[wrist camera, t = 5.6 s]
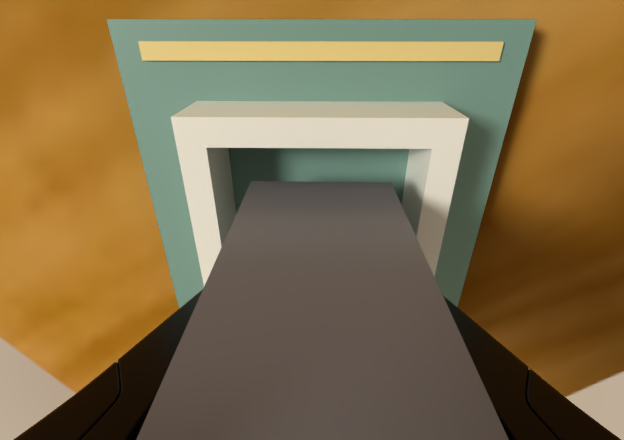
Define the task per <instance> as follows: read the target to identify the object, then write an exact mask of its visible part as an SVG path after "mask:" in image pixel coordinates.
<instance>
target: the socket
mask: <svg viewBox="0 0 624 440" xmlns="http://www.w3.org/2000/svg"><path fill="white" fill-rule="evenodd" d="M171 121H172V126H173V132H174V137H175V142H176V147H177V152H178V157H179V162H180V167H181V172H182V177H183V182H184V188H185V193H186V198H187V203H188V208H189V213H190V218H191V223H192V228H193V233H194V238H195V244H196V249H197V254H198V259H199V264H200V269H201V274H202V279H203V284H204V286H205V284H206V282H207V279H208V277H209V275H210V272H211V270H212V268H213V266H214V263H215V261H216V259H217V257H218V254H219V252H220V250H221V248H222V245H223V243H224V241H225V239H226V236H227V234H228V232H229V230H230V227H231V225H232V223H233V221H234V218H235V216H236V207H235V199H234V191H233V182H232V174H231V166H230V158H229V149H228V148H361V149H409V155H408V162H407V169H406V176H405V183H404V190H403V198H402V207H403V209H404V212H405V214H406V216H407V218H408V220H409V222H410V225H411V227H412V229H413V231H414V233H415V236H416V238H417V240H418V242H419V244H420V247H421V249H422V251H423V253H424V255H425V257H426V260H427V262H428V264H429V266H430V268H431V271H432V273H433V275H434V277H435V272H436V267H437V263H438V258H439V254H440V249H441V245H442V240H443V236H444V231H445V226H446V222H447V217H448V213H449V208H450V204H451V199H452V194H453V190H454V185H455V181H456V176H457V172H458V167H459V163H460V158H461V153H462V149H463V144H464V140H465V135H466V131H467V126H468V121H469V118H468V117H466V116H465V115H463V114H461V113H460V112H458V111H456V110H455V109H453V108H452V107H450V106H448V105H447V104H445V103H443V102H375V101H196V102H194V103H193V104H191V105H189V106H188V107H186V108H185V109H183V110H181V111H180V112H178V113H176V114H175V115H173V116H171Z"/></svg>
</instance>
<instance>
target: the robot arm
mask: <svg viewBox="0 0 624 440" xmlns="http://www.w3.org/2000/svg"><path fill="white" fill-rule="evenodd" d="M202 291H203V289H202V290H201V291H200V292H199V293H197V294H196V295H195V296H194V297H193V298H191V299H190V300H189V301H188V302H187V303H185V304H184V305H183V306H182V307H181V308H179V309H178V310H177V311H176V312H175V313H173V314H172V315H171V316H170V317H169V318H167V319H166V320H165V321H164V322H163V323H161V324H160V325H159V326H158V327H157V328H155V329H154V330H153V331H152V332H151V333H149V334H148V335H147V336H146V337H145V338H143V339H142V340H141V341H140V342H139V343H137V344H136V345H135V346H134V347H133V348H131V349H130V350H129V351H128V352H127V353H126V354H124V355H123V356H122V357H121V358H120V359H118V363H117V362H115V363H113V364H112V365H111V366H110V367H109V368H107V369H106V370H105V371H104V372H103V373H101V374H100V375H99V376H98V377H96V378H95V379H94V380H93V381H91V382H90V383H89V384H88V385H86V386H85V387H84V388H83V389H81V390H80V391H79V392H78V393H76V394H75V395H74V396H73V397H71V398H70V399H68V400H67V401H66V402H65V403H63V404H62V405H60V406H59V407H58V408H57V409H55V410H54V411H52V412H51V413H50V414H48V415H47V416H46V417H44V418H43V419H42V420H40V421H39V422H37V423H36V424H35V425H33V426H32V427H30V428H29V429H28V430H26V431H25V432H24V433H22V434H21V435H19V436H18V437H17V438H15V439H14V440H136V439H137V437H138V435H139V432H140V430H141V428H142V426H143V423H144V421H145V419H146V417H147V414H148V412H149V410H150V408H151V405H152V403H153V401H154V399H155V396H156V394H157V392H158V390H159V387H160V385H161V383H162V381H163V378H164V376H165V374H166V372H167V369H168V367H169V365H170V363H171V360H172V358H173V356H174V354H175V351H176V349H177V347H178V345H179V342H180V340H181V338H182V336H183V333H184V331H185V329H186V327H187V324H188V322H189V320H190V318H191V315H192V313H193V311H194V309H195V306H196V304H197V302H198V300H199V297H200V295H201V293H202ZM443 297H444V299H445V301H446V303H447V306H448V308H449V310H450V312H451V314H452V317H453V319H454V321H455V323H456V325H457V328H458V330H459V332H460V334H461V336H462V338H463V341H464V343H465V345H466V347H467V349H468V352H469V354H470V356H471V358H472V360H473V363H474V365H475V367H476V369H477V371H478V374H479V376H480V378H481V380H482V382H483V384H484V387H485V389H486V391H487V393H488V395H489V398H490V400H491V402H492V404H493V406H494V409H495V411H496V413H497V415H498V417H499V419H500V422H501V424H502V426H503V428H504V430H505V433H506V435H507V437H508V439H509V440H621V439H619V438H618V437H617V436H615V435H614V434H612V433H611V432H610V431H608V430H607V429H606V428H604V427H603V426H602V425H600V424H599V423H598V422H596V421H595V420H594V419H593V418H591V417H590V416H588V415H587V414H586V413H584V412H583V411H582V410H581V409H579V408H578V407H577V406H575V405H574V404H573V403H572V402H570V401H569V400H568V399H567V398H565V397H564V396H563V395H562V394H560V393H559V392H558V391H557V390H556V389H554V388H553V387H552V386H551V385H549V384H548V383H547V382H546V381H545V380H543V379H542V378H541V377H540V376H539V375H537V374H536V373H535V372H534V371H533V370H528V366H527V365H525V364H524V363H523V362H522V361H521V360H519V359H518V358H517V357H516V356H515V355H513V354H512V353H511V352H510V351H509V350H507V349H506V348H505V347H504V346H503V345H502V344H500V343H499V342H498V341H497V340H496V339H494V338H493V337H492V336H491V335H490V334H488V333H487V332H486V331H485V330H484V329H483V328H481V327H480V326H479V325H478V324H477V323H475V322H474V321H473V320H472V319H471V318H469V317H468V316H467V315H466V314H465V313H464V312H462V311H461V310H460V309H459V308H458V307H456V306H455V305H454V304H453V303H452V302H450V301H449V300H448V299H447V298H446V297H445V296H443Z"/></svg>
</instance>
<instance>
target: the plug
mask: <svg viewBox="0 0 624 440" xmlns="http://www.w3.org/2000/svg"><path fill="white" fill-rule="evenodd" d="M136 440H509V439H508V437H507V435H506V433H505V430H504V428H503V426H502V424H501V422H500V419H499V417H498V415H497V413H496V411H495V409H494V406H493V404H492V402H491V400H490V398H489V395H488V393H487V391H486V389H485V387H484V384H483V382H482V380H481V378H480V376H479V374H478V371H477V369H476V367H475V365H474V363H473V360H472V358H471V356H470V354H469V352H468V349H467V347H466V345H465V343H464V341H463V338H462V336H461V334H460V332H459V330H458V328H457V325H456V323H455V321H454V319H453V317H452V314H451V312H450V310H449V308H448V306H447V303H446V301H445V299H444V297H443V295H442V293H441V290H440V288H439V286H438V284H437V282H436V279H435V277H434V275H433V273H432V271H431V268H430V266H429V264H428V262H427V260H426V257H425V255H424V253H423V251H422V249H421V247H420V244H419V242H418V240H417V238H416V236H415V233H414V231H413V229H412V227H411V225H410V222H409V220H408V218H407V216H406V214H405V212H404V209H403V207H402V205H401V203H400V201H399V198H398V196H397V194H396V192H395V190H394V187H393V185H392V183H391V182H299V181H251V182H250V185H249V187H248V189H247V191H246V194H245V196H244V198H243V200H242V203H241V205H240V207H239V209H238V212H237V214H236V216H235V218H234V221H233V223H232V225H231V227H230V230H229V232H228V234H227V236H226V239H225V241H224V243H223V245H222V248H221V250H220V252H219V254H218V257H217V259H216V261H215V263H214V266H213V268H212V270H211V272H210V275H209V277H208V279H207V282H206V284H205V286H204V288H203V291H202V293H201V295H200V297H199V300H198V302H197V304H196V306H195V309H194V311H193V313H192V315H191V318H190V320H189V322H188V324H187V327H186V329H185V331H184V333H183V336H182V338H181V340H180V342H179V345H178V347H177V349H176V351H175V354H174V356H173V358H172V360H171V363H170V365H169V367H168V369H167V372H166V374H165V376H164V378H163V381H162V383H161V385H160V387H159V390H158V392H157V394H156V396H155V399H154V401H153V403H152V405H151V408H150V410H149V412H148V414H147V417H146V419H145V421H144V423H143V426H142V428H141V430H140V432H139V435H138V437H137V439H136Z"/></svg>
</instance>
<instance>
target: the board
mask: <svg viewBox="0 0 624 440" xmlns="http://www.w3.org/2000/svg"><path fill="white" fill-rule="evenodd" d="M536 21H537V19H107V22H108V26H109V30H110V34H111V38H112V42H113V46H114V50H115V54H116V58H117V62H118V66H119V70H120V74H121V78H122V82H123V86H124V90H125V94H126V98H127V102H128V106H129V110H130V114H131V118H132V122H133V126H134V130H135V134H136V138H137V142H138V146H139V150H140V154H141V158H142V162H143V166H144V170H145V174H146V178H147V182H148V186H149V190H150V194H151V198H152V202H153V206H154V210H155V214H156V218H157V222H158V226H159V230H160V233H161V237H162V241H163V245H164V249H165V253H166V257H167V261H168V265H169V269H170V273H171V277H172V281H173V285H174V289H175V293H176V297H177V301H178V305H179V308H181V307H182V306H183V305H184V304H185V303H187V302H188V301H189V300H190V299H191V298H193V297H194V296H195V295H196V294H197V293H199V292H200V291H201V290H202V289H203V288H204V284H203V279H202V274H201V269H200V264H199V259H198V254H197V249H196V244H195V238H194V233H193V228H192V223H191V218H190V213H189V208H188V203H187V198H186V193H185V188H184V182H183V177H182V172H181V167H180V162H179V157H178V152H177V147H176V142H175V137H174V132H173V126H172V121H171V116H173V115H175V114H176V113H178V112H180V111H181V110H183V109H185V108H186V107H188V106H189V105H191V104H193V103H194V102H196V101H375V102H443V103H445V104H447V105H448V106H450V107H452V108H453V109H455V110H456V111H458V112H460V113H461V114H463V115H465V116H466V117H468V118H469V121H468V126H467V131H466V135H465V140H464V144H463V149H462V153H461V158H460V163H459V167H458V172H457V176H456V181H455V185H454V190H453V194H452V199H451V204H450V208H449V213H448V217H447V222H446V226H445V231H444V236H443V240H442V245H441V249H440V254H439V258H438V263H437V267H436V272H435V279H436V282H437V284H438V286H439V288H440V290H441V293H442V295H443V296H445V297H446V298H447V299H448V300H449V301H450V302H452V303H453V304H454V305H455V306H456V307H458V304H459V300H460V297H461V293H462V289H463V286H464V282H465V278H466V275H467V271H468V268H469V264H470V260H471V257H472V253H473V249H474V246H475V242H476V239H477V235H478V231H479V228H480V224H481V220H482V217H483V213H484V210H485V206H486V202H487V199H488V195H489V191H490V188H491V184H492V180H493V177H494V173H495V170H496V166H497V162H498V159H499V155H500V151H501V148H502V144H503V141H504V137H505V133H506V130H507V126H508V122H509V119H510V115H511V112H512V108H513V104H514V101H515V97H516V93H517V90H518V86H519V82H520V79H521V75H522V72H523V68H524V64H525V61H526V57H527V53H528V50H529V46H530V43H531V39H532V35H533V32H534V28H535V24H536ZM228 149H229V158H230V166H231V174H232V182H233V191H234V199H235V207H236V214H237V212H238V209H239V207H240V205H241V203H242V200H243V198H244V196H245V194H246V191H247V189H248V187H249V185H250V182H251V181H299V182H391V183H392V185H393V187H394V190H395V192H396V194H397V196H398V198H399V201H400V203H401V205H402V198H403V190H404V183H405V176H406V169H407V162H408V155H409V149H361V148H228Z"/></svg>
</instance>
